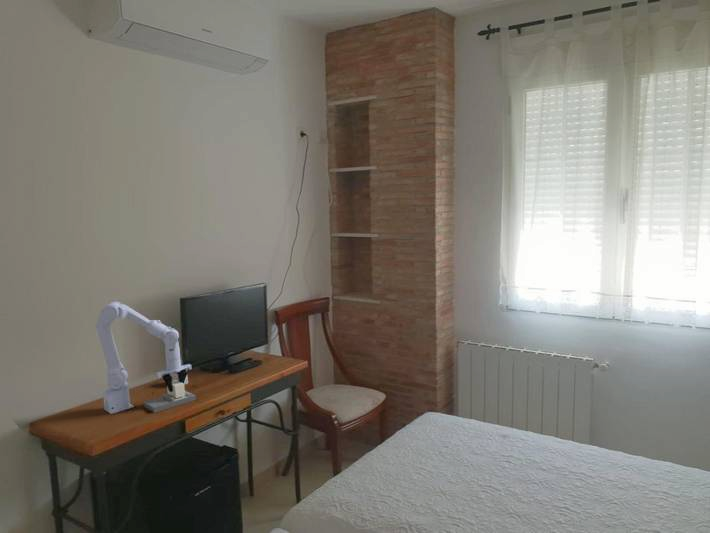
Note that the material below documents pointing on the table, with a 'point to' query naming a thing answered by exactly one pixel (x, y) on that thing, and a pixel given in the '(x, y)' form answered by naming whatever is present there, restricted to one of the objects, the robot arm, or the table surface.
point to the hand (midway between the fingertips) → (176, 389)
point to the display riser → (168, 402)
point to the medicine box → (175, 377)
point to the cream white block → (177, 389)
